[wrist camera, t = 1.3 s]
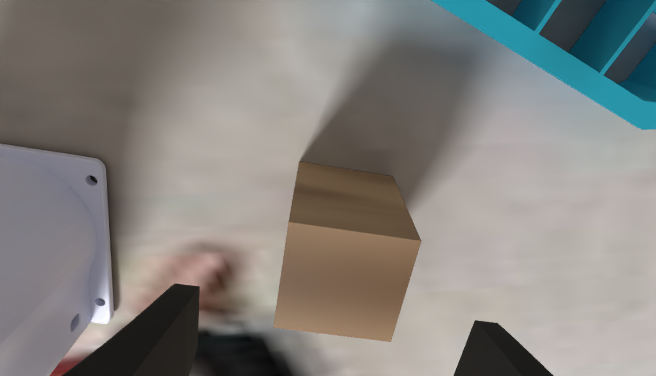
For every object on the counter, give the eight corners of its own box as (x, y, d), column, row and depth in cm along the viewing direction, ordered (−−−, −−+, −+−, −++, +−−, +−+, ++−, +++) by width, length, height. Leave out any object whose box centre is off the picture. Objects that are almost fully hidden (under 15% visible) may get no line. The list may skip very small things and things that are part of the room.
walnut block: (372, 255, 21) (390, 341, 15) (287, 243, 20) (273, 327, 15) (392, 176, 19) (421, 241, 13) (299, 161, 18) (288, 222, 13)
